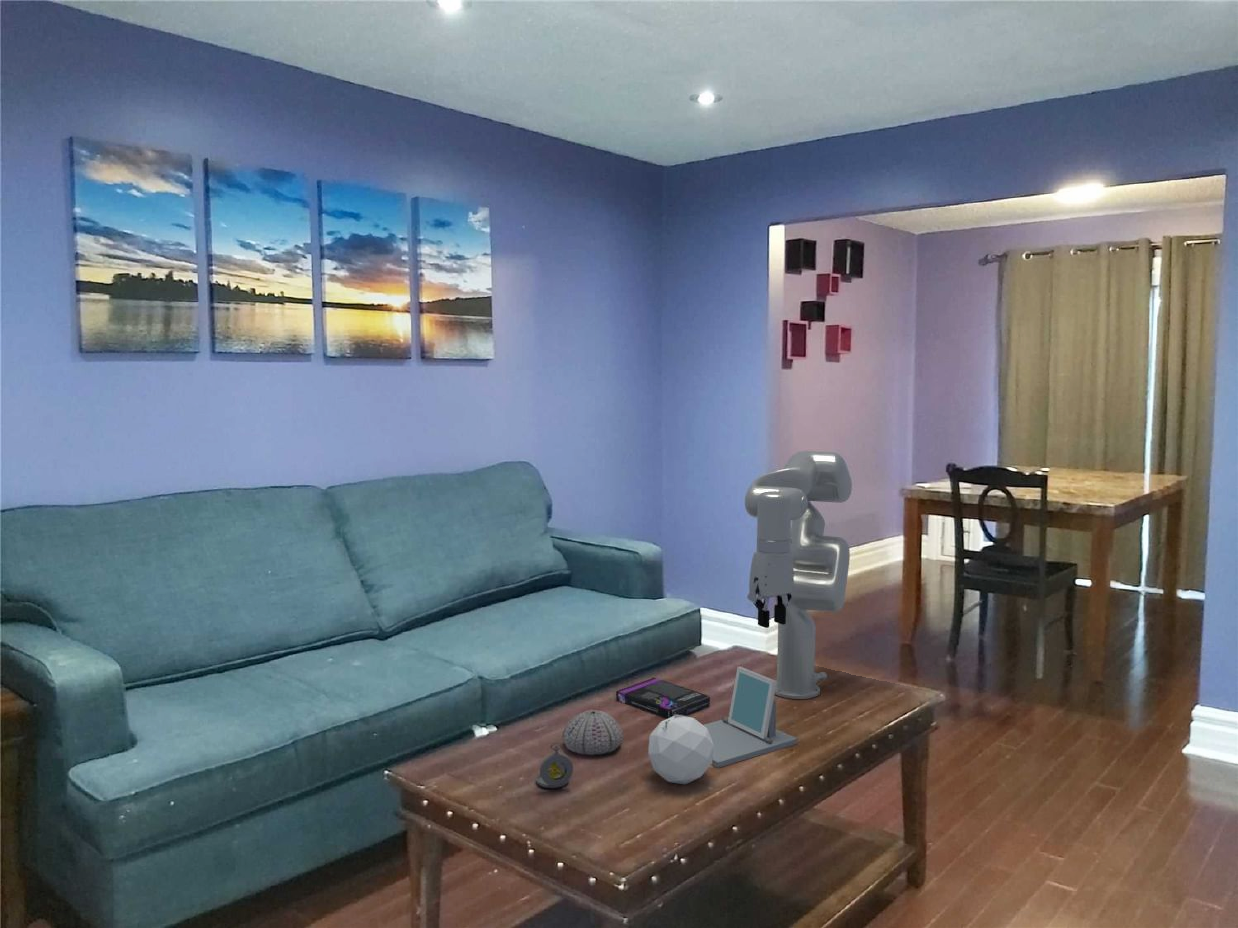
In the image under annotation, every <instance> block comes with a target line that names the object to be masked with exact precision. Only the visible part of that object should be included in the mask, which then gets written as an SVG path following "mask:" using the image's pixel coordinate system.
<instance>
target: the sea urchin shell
mask: <svg viewBox="0 0 1238 928" xmlns="http://www.w3.org/2000/svg"><path fill="white" fill-rule="evenodd" d="M623 733H624V732H623V731H622V727H621V726H620V724H619V723H618V721H617V720H616V719H615V717H613V716H612V715H610V714H609V713H608V712H605V711H603V710H596V709H590V710H589V709H588V710H585V711H584V712H581V713H578V714H577V715H575V716H573V718H571V719H570V720H569V721H568V722H567V724H566V725H565V727H564V729H563V732H562V736H561V737H562V739H563V742H564V743H563V745H565V746H566V749H568V751H571V752H573V753H575V754H576V753H577V754H579V755H589V756H595V755H599V756H601V755H604V754H610V753H612V752H613V751H615V750H616V749H617V748H619V746H620V745H621V744H622V741H623V737H624V736H623Z"/></svg>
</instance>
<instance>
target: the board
mask: <svg viewBox="0 0 1238 928" xmlns="http://www.w3.org/2000/svg"><path fill="white" fill-rule="evenodd" d="M728 718H729V717H725V716H724V717H722V719H719V720H717V721H715V720H714V721H713V722H712V721H711V722H709V723H705V724H702V725H703V726H705V727H706V728H707V729H708V731H709V734H710V737H711V739H712V742H713V745H714V750H713V759H712V764H711V765H712V766H714V767H716V768H718V769H719V768H722V767H723V768H724V767H726V766H729V765H732V764H735V763H739V762H741V761H746V760H748V759H752V758H754V757H758V756H761V755H765V754H769V753H772V752H775V751H778V750H781V749H784V748H785V749H786V748H788V747H791V746H794V745H797V744H798V738H797V737H794V736H793V735H791V734H787V733H786V732H784V731H781V730H779V729H777V700H776V699H775V698H774V699H773V705H772V710H771V716H770V722H769V727H768V733H767V737H766V738H765V739H762V738H760V737H758V736H756V735H754V734H752V733H750V732H748V731H746V730H744V729H741V728H739V727H737V726H735V725H733V724H731V723H729V722H728Z"/></svg>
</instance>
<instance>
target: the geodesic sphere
mask: <svg viewBox="0 0 1238 928" xmlns="http://www.w3.org/2000/svg"><path fill="white" fill-rule="evenodd" d="M703 725H704V724H702V723H701V722H699V720H697V719H695V718H694V717H690V716H688V715H687V716H682V715H678V714H677V715H676V714H674V716H673V717H670V718H668V719H666V718H665V719H664V720H662V721H660V722H659V724H657V726H656V727H655V728H654V729H653V731H652V732H651V733H650V734H649V739H648V750H647V754H648V757H649V759H650V763H651V765H652V768H653V771H654V772H656V774H658V775H659V776H660V777H662V778H663V779H664V780H665V781H667V782H668V783H672V784H673V783H674V784H680V785H687V784H689V783H691V782H693V781H695V780H698V779H700V778H702V776H703V775H704V774H705V772H707V770H708V769H709V768H710V767H711V765H712V759H713V750H714V745H713V742H712V739H711V737H710V734H709V731H708V729H707V728H706V727H705V726H703Z"/></svg>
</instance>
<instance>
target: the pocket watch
mask: <svg viewBox="0 0 1238 928" xmlns="http://www.w3.org/2000/svg"><path fill="white" fill-rule="evenodd" d="M555 744H557V745H555ZM558 744H560V745H561V746H558ZM553 745H555V746H554V747H553ZM549 747H550V749H552V750H553V751H555V752H553V753H551V754H550V755H547V756H546V757H545V758H544V759H543V760H542V762H541V764H540V766H539V767H540V768H539V774H538V775H537V776H536V779H535V781H536V784H537V785H539V787H543V788H547V789H556V788H562V787H564V786H566V785H567V784H568V783H569V781H570V779H571V777H572V775H573V771H574V764H573V761H572V760H571V758H570V757H569V756H568V755H567V754H565V753H562V752H559V751H560V750H561V749H562V747H564V743H562V742H560V741H557V742H553V743H552V744H551V745H550V746H549Z"/></svg>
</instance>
